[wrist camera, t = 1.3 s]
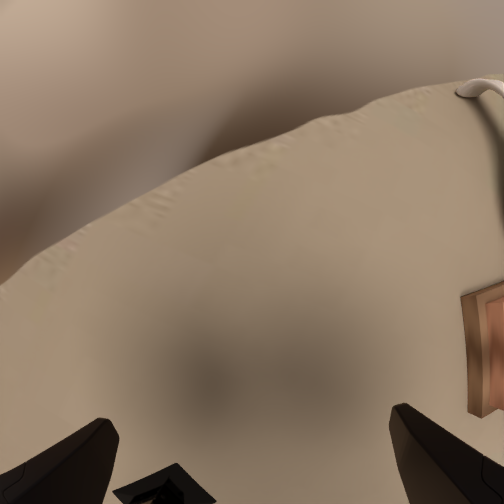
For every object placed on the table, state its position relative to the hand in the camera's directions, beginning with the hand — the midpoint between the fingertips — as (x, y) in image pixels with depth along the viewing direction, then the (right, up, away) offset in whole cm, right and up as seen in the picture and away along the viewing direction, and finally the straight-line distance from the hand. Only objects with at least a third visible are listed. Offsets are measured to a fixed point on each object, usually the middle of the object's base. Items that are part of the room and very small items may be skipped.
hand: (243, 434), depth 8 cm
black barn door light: (-8, -18, +13) cm, 24 cm away
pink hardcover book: (+27, -3, +14) cm, 31 cm away
